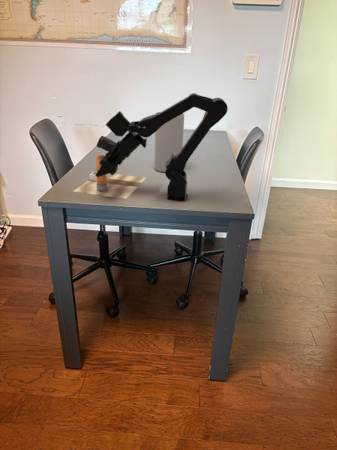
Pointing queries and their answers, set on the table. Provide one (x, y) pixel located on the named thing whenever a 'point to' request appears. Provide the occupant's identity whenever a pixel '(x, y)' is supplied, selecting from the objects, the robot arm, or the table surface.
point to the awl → (102, 179)
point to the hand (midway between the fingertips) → (97, 174)
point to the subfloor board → (113, 186)
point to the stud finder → (94, 177)
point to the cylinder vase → (168, 141)
